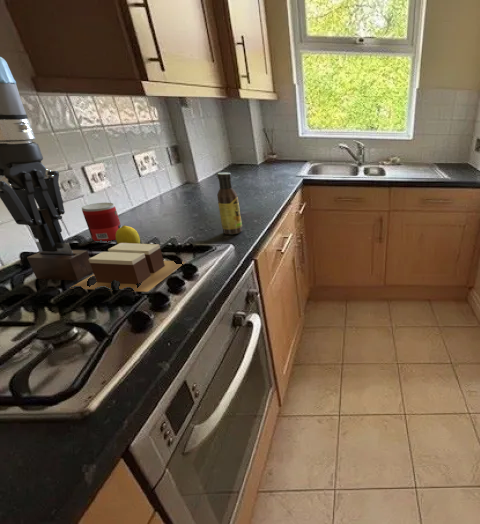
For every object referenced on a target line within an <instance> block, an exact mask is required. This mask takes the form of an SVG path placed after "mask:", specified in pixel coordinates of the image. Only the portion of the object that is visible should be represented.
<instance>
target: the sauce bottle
mask: <svg viewBox="0 0 480 524" xmlns="http://www.w3.org/2000/svg"><path fill="white" fill-rule="evenodd" d="M216 176H217V179H218V184H219V189H218V191H217V195H216V197H217V204H218V210H219V216H220V223H221V228H222V232H223V234H225V235H231V236H232V235H237V234H240V233H242V231H243V222H242V217H241V209H240V204H239V196H238V193H237V192H236V190H235V189H234V188H233V184H232V173H231V172H226V171H225V172H217V173H216Z"/></svg>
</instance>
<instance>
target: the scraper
mask: <svg viewBox="0 0 480 524" xmlns="http://www.w3.org/2000/svg"><path fill="white" fill-rule="evenodd" d="M37 208H38V211H39V214H40V218H41V221H42V223H43V224H47V226H48V228H49V231H50V234H51V236H52V239H53V241H54V244H55V246H56V249H57V251H55V252H48V251H43V250H42V248H41V246H40V243H39V241H35V245H36V247H37V250H38V253H39V252H40V254H44V255H67V256H74V255H73V253H72V250H73V249H72V247H71V245H70V243H69V242H64V243H58V242H60V240H59V238H58V235H57V232H56V230H55V227H54V225H53V222H52V220H51V217H50V214H49V212H48V209H47V208H39V207H37Z"/></svg>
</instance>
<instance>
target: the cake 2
mask: <svg viewBox="0 0 480 524" xmlns="http://www.w3.org/2000/svg"><path fill="white" fill-rule="evenodd" d="M107 252H122V253H144V254H145V258H146V261H147V265H148V268H149V271H150V273H155V272H157V271H158V270H160V269H161V268H162V267H164V266H165V264H164V261H165V260H164V257H163V253H162V249H161V246H160V244H159V243H158V244H157V243H140V244H137V243H119V244H118V243H116V244H115V245H113V246H112V247H109V248H108V249H107Z"/></svg>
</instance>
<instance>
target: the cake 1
mask: <svg viewBox="0 0 480 524" xmlns="http://www.w3.org/2000/svg"><path fill="white" fill-rule="evenodd" d="M89 262H90V265H91V267H92V270H93V272H92V274H94V276H95V278H96V281H97V282H100V283H111V282H112V281H113V280H116V281H119V282H120V283H121V284H137V283H138V284H139V283H141V282H143V281H144V280H146V279H147V278H148V277H150V276H151V275H150V271H149V268H148V265H147V261H146V258H145V254H144V253H122V252H109V251H101V252H99V253H98V254H96V255H93V256H92V257H90V259H89Z"/></svg>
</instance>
